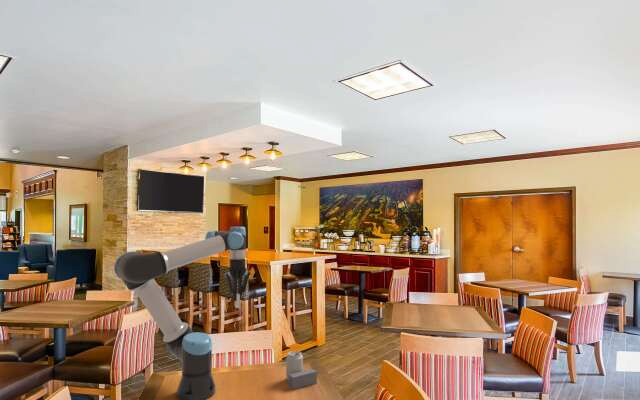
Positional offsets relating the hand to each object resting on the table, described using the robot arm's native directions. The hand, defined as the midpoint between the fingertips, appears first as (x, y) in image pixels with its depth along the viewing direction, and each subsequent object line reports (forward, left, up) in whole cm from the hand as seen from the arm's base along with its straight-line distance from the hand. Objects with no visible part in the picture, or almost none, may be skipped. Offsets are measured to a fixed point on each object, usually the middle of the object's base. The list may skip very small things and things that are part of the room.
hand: (237, 307), depth 192 cm
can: (+17, -27, -30) cm, 43 cm away
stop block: (+17, -33, -29) cm, 47 cm away
